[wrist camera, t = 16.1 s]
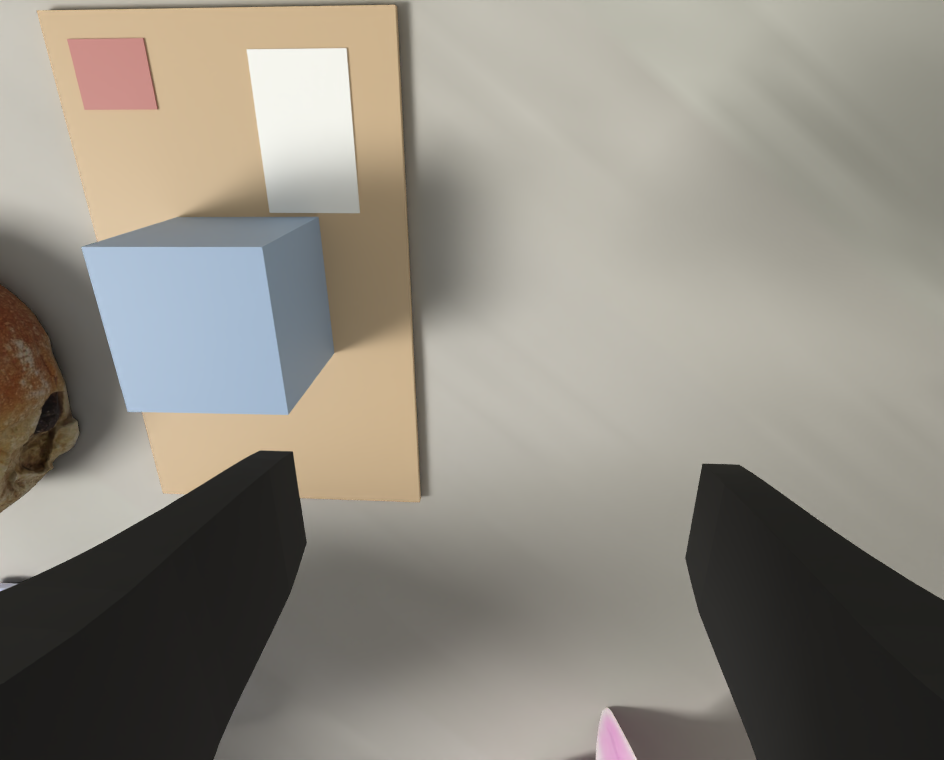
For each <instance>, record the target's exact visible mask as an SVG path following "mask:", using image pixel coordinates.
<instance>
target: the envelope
mask: <svg viewBox="0 0 944 760" xmlns="http://www.w3.org/2000/svg"><path fill="white" fill-rule="evenodd" d="M37 13H38V17H39V21H40V25H41V29H42V33H43V36H44V40H45V44H46V48H47V52H48V55H49V59H50V63H51V67H52V71H53V75H54V78H55V82H56V86H57V90H58V94H59V97H60V101H61V105H62V109H63V113H64V117H65V120H66V124H67V128H68V132H69V136H70V139H71V143H72V147H73V151H74V155H75V159H76V162H77V166H78V170H79V174H80V178H81V181H82V185H83V189H84V193H85V197H86V201H87V204H88V208H89V212H90V216H91V220H92V223H93V227H94V231H95V235H96V239H97V242H99V241H102V240H105V239H108V238H111V237H115V236H118V235H121V234H124V233H128V232H131V231H134V230H137V229H140V228H144V227H147V226H150V225H153V224H156V223H160V222H163V221H166V220H169V219H172V218H176V217H319V225H320V233H321V242H322V251H323V259H324V268H325V277H326V285H327V294H328V302H329V311H330V320H331V328H332V337H333V346H334V354H333V356H332V357H331V358H330V360H329V361H328V362H327V364H326V365H325V366H324V368H323V369H322V370H321V372H320V373H319V374H318V376H317V377H316V378H315V380H314V381H313V382H312V384H311V385H310V387H309V388H308V389H307V391H306V392H305V393H304V395H303V396H302V397H301V399H300V400H299V401H298V403H297V404H296V405H295V407H294V408H293V409H292V411H291V412H290V413H289V415H269V414H217V413H164V412H142V414H143V418H144V422H145V426H146V430H147V434H148V437H149V441H150V445H151V449H152V453H153V456H154V460H155V464H156V468H157V472H158V476H159V479H160V483H161V487H162V491H163V493H168V494H187V493H189V492H190V491H192V490H194V489H195V488H197V487H199V486H200V485H202V484H203V483H205V482H207V481H208V480H210V479H211V478H213V477H215V476H216V475H218V474H220V473H221V472H223V471H224V470H226V469H228V468H229V467H231V466H233V465H234V464H236V463H238V462H239V461H241V460H243V459H244V458H246V457H248V456H250V455H252V454H254V453H256V452H258V451H260V450H264V451H293V456H294V462H295V469H296V476H297V483H298V489H299V496H300V498H311V499H340V500H369V501H397V502H420V499H421V490H420V469H419V448H418V428H417V407H416V386H415V365H414V344H413V324H412V303H411V282H410V261H409V241H408V220H407V199H406V178H405V158H404V137H403V116H402V95H401V75H400V54H399V33H398V12H397V6H396V5H351V6H289V7H227V8H166V9H104V10H42V11H37Z"/></svg>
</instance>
